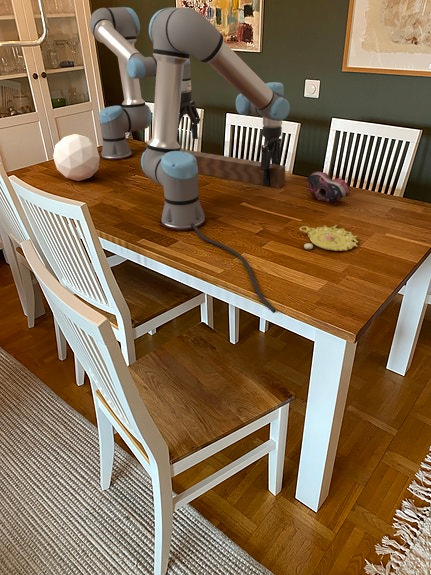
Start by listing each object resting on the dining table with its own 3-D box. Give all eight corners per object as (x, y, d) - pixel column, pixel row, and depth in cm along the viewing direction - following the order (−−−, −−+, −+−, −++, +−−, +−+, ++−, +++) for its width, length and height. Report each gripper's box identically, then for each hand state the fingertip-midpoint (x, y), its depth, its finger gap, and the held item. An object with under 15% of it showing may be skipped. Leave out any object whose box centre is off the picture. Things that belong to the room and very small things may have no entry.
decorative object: (343, 255, 128) (285, 234, 139) (342, 262, 130) (284, 241, 140) (372, 230, 142) (317, 213, 152) (371, 237, 143) (316, 219, 153)
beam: (284, 184, 186) (285, 165, 182) (278, 188, 182) (279, 169, 178) (181, 165, 211) (180, 149, 207) (174, 168, 208) (173, 151, 203)
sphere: (86, 196, 198) (71, 170, 180) (54, 175, 203) (36, 147, 184) (114, 167, 203) (101, 138, 185) (82, 146, 208) (67, 116, 189)
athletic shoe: (315, 170, 179) (291, 178, 175) (351, 165, 160) (325, 173, 156) (321, 198, 182) (297, 206, 178) (356, 196, 163) (330, 204, 159)
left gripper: (171, 96, 178) (176, 149, 189) (206, 87, 196) (208, 136, 207) (157, 95, 182) (162, 147, 193) (192, 86, 199) (195, 135, 211)
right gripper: (274, 120, 182) (272, 175, 194) (252, 129, 169) (251, 188, 182) (291, 122, 178) (287, 178, 191) (269, 132, 166) (267, 191, 178)
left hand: (186, 142), depth 200 cm, fingers open, 13 cm apart
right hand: (269, 182), depth 186 cm, fingers closed on beam, 5 cm apart
